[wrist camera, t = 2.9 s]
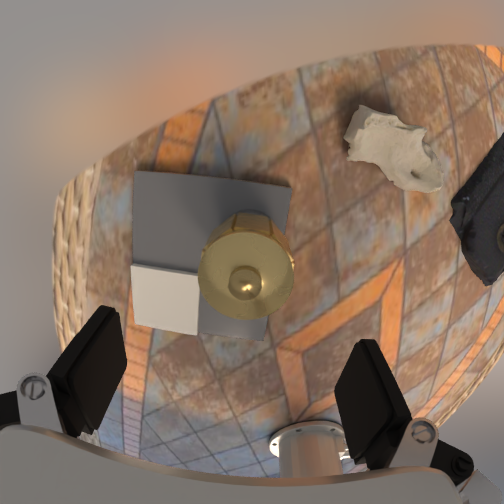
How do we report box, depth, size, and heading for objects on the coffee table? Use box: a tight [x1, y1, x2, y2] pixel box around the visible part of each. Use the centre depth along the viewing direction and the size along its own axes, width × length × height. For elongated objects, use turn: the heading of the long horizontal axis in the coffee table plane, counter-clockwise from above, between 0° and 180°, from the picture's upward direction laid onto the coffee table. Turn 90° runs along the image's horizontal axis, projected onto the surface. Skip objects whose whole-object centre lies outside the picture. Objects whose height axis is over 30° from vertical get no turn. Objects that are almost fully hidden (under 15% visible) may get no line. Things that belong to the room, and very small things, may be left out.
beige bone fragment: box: [343, 105, 444, 193], centre depth 21 cm, size 6×10×4 cm, turn 74°
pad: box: [131, 263, 200, 336], centre depth 27 cm, size 7×7×1 cm
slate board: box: [133, 170, 292, 341], centre depth 26 cm, size 14×16×1 cm
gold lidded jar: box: [198, 212, 294, 320], centre depth 19 cm, size 6×6×6 cm
